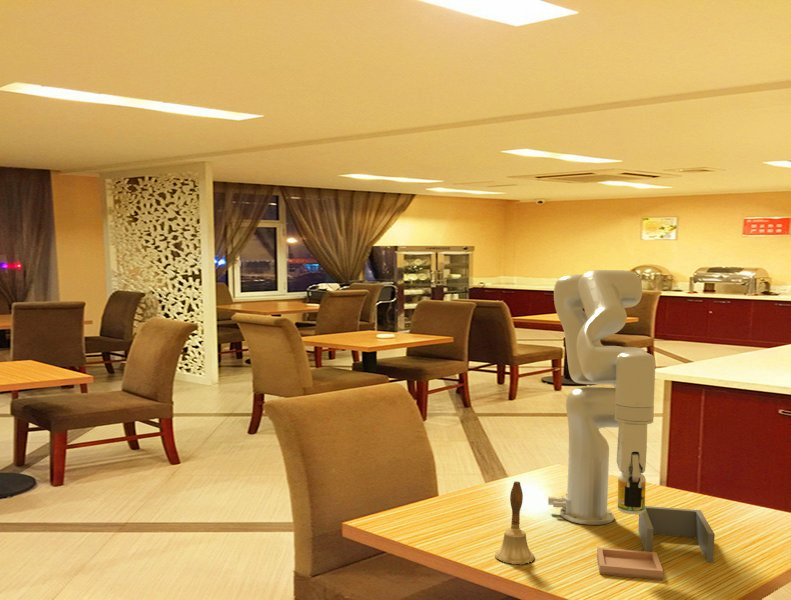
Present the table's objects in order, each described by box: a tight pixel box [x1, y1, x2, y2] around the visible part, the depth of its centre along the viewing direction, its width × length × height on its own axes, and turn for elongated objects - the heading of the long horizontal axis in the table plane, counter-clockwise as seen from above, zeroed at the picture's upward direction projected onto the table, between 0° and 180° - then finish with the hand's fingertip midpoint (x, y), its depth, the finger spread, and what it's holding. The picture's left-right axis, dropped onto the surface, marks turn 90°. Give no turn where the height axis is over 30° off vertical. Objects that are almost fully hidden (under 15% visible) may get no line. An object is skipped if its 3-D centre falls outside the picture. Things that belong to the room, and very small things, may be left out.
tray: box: [596, 546, 664, 581], centre depth 160 cm, size 12×10×2 cm
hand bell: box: [494, 481, 536, 565], centre depth 164 cm, size 8×8×16 cm
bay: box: [637, 505, 716, 563], centre depth 173 cm, size 13×16×6 cm
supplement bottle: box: [617, 468, 647, 516], centre depth 159 cm, size 5×5×10 cm
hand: (631, 501), depth 159 cm, fingers closed on supplement bottle, 5 cm apart
